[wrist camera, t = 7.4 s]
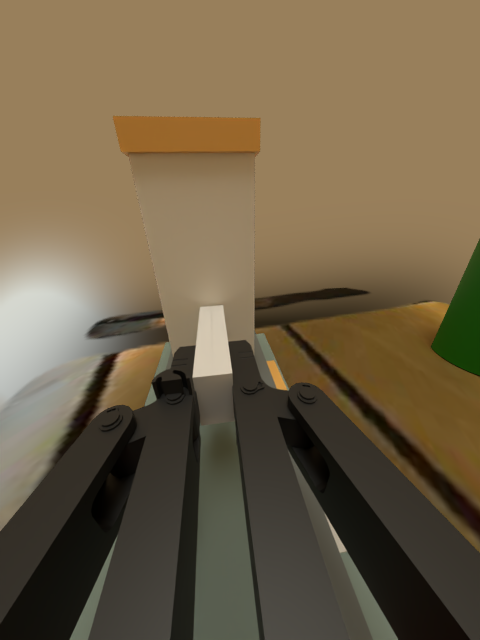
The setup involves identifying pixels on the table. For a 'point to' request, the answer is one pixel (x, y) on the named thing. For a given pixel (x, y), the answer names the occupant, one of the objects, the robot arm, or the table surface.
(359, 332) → the table surface
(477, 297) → the motor
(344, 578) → the grey stepped base plate
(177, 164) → the slide lever
